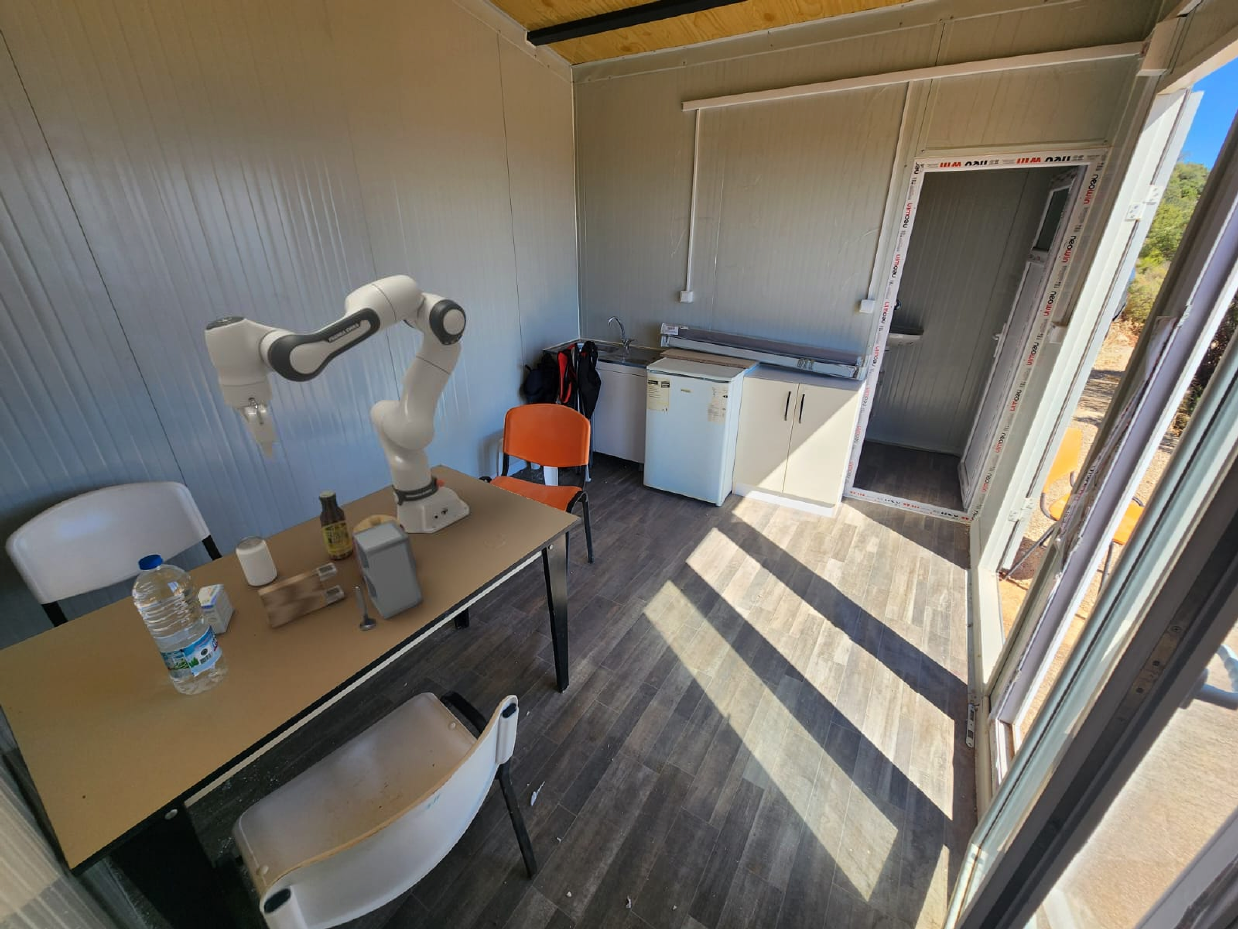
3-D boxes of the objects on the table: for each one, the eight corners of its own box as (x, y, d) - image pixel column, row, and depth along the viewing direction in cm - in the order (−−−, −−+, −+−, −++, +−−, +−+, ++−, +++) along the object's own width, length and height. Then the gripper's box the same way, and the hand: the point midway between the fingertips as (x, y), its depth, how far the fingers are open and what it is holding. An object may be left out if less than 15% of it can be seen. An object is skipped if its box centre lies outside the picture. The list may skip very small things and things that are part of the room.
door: (340, 591, 128) (331, 560, 124) (345, 599, 126) (336, 567, 121) (270, 621, 118) (257, 588, 114) (273, 630, 116) (260, 597, 111)
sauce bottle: (332, 563, 138) (314, 502, 129) (326, 553, 142) (308, 493, 134) (357, 554, 142) (341, 494, 133) (351, 544, 146) (334, 486, 138)
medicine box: (213, 615, 120) (200, 587, 116) (235, 610, 122) (222, 582, 118) (203, 638, 113) (189, 609, 110) (226, 632, 115) (213, 603, 111)
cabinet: (407, 582, 132) (392, 519, 123) (422, 601, 125) (408, 536, 116) (370, 598, 126) (352, 533, 117) (384, 619, 119) (366, 552, 110)
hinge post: (373, 617, 120) (362, 579, 115) (378, 625, 118) (368, 587, 112) (357, 624, 118) (346, 586, 113) (362, 632, 115) (351, 594, 110)
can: (263, 588, 129) (249, 551, 123) (242, 585, 130) (227, 547, 124) (283, 573, 134) (270, 536, 129) (263, 569, 135) (249, 533, 130)
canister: (376, 554, 142) (362, 502, 134) (419, 556, 142) (409, 504, 134) (351, 584, 131) (335, 528, 123) (399, 586, 130) (386, 530, 122)
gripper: (273, 402, 105) (291, 460, 111) (256, 380, 118) (272, 434, 124) (237, 408, 101) (257, 468, 107) (224, 385, 114) (242, 440, 120)
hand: (265, 449), depth 115 cm, fingers open, 8 cm apart
